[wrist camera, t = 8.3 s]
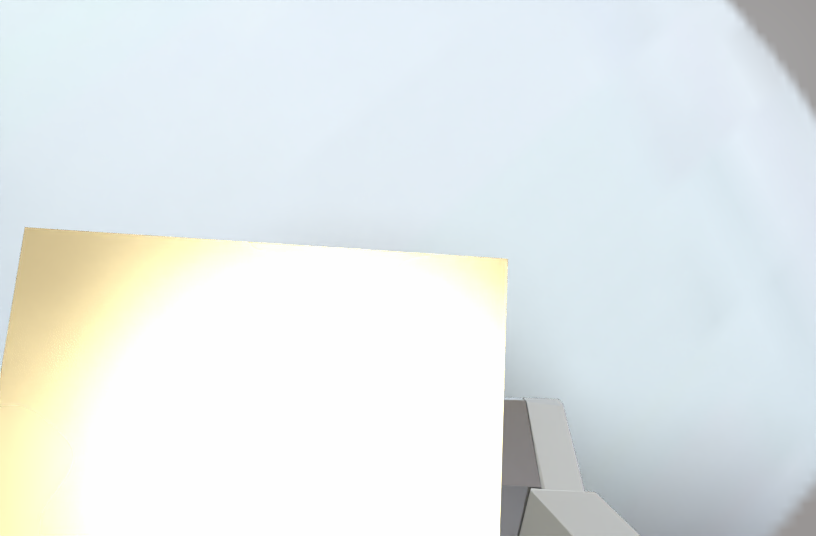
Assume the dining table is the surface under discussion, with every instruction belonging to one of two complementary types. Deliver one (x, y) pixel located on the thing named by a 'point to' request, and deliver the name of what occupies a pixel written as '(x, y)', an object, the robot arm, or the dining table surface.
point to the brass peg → (250, 390)
